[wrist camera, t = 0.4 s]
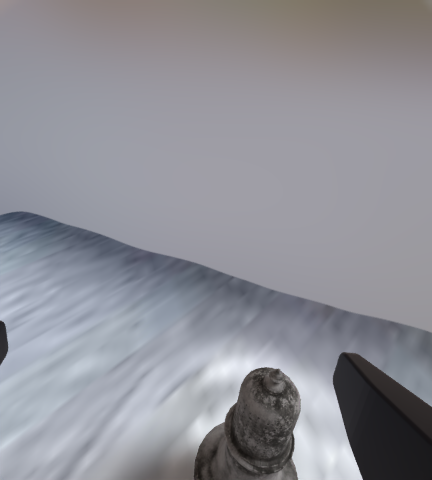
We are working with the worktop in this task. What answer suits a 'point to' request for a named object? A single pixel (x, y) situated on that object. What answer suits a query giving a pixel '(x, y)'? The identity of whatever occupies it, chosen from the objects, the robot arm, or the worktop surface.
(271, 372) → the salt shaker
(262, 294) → the worktop surface
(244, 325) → the worktop surface
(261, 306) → the worktop surface
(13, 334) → the worktop surface
